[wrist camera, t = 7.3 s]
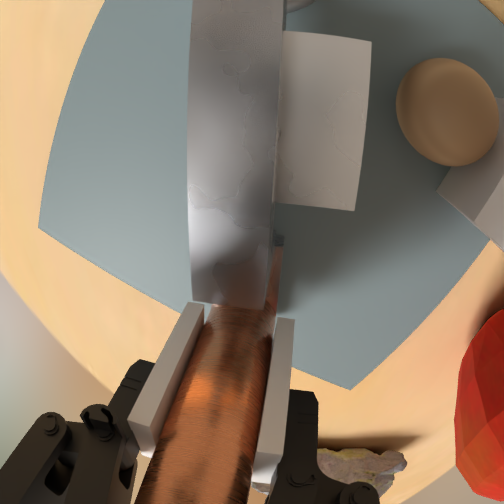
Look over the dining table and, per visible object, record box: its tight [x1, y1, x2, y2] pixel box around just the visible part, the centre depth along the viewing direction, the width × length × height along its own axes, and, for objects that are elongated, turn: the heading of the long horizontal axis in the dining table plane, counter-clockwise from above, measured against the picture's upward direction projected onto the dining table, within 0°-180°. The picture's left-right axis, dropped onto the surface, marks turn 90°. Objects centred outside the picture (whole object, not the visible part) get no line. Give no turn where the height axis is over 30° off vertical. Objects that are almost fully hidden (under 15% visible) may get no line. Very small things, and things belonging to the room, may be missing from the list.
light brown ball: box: [396, 58, 499, 167], centre depth 9 cm, size 4×4×4 cm
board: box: [38, 0, 504, 390], centre depth 12 cm, size 24×24×5 cm
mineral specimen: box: [251, 448, 407, 498], centre depth 24 cm, size 16×7×7 cm, turn 85°
